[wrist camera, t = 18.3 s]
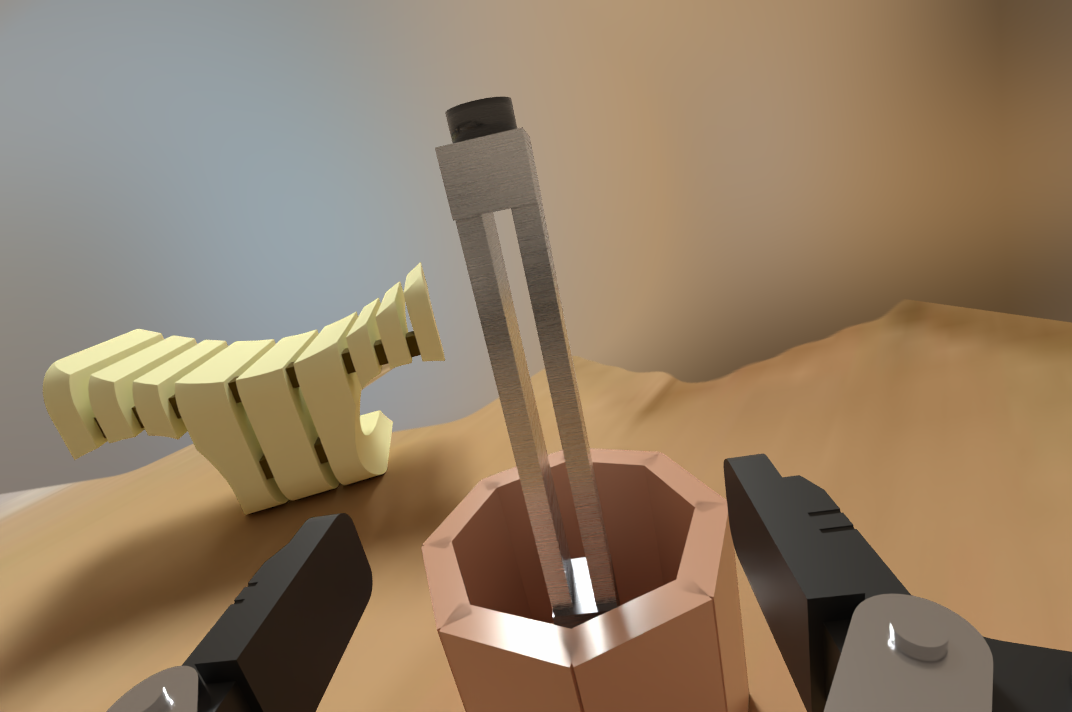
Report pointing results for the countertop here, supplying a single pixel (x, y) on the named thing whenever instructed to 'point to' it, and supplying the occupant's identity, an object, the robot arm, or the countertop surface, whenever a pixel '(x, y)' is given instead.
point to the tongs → (474, 194)
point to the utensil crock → (614, 637)
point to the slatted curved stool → (251, 397)
